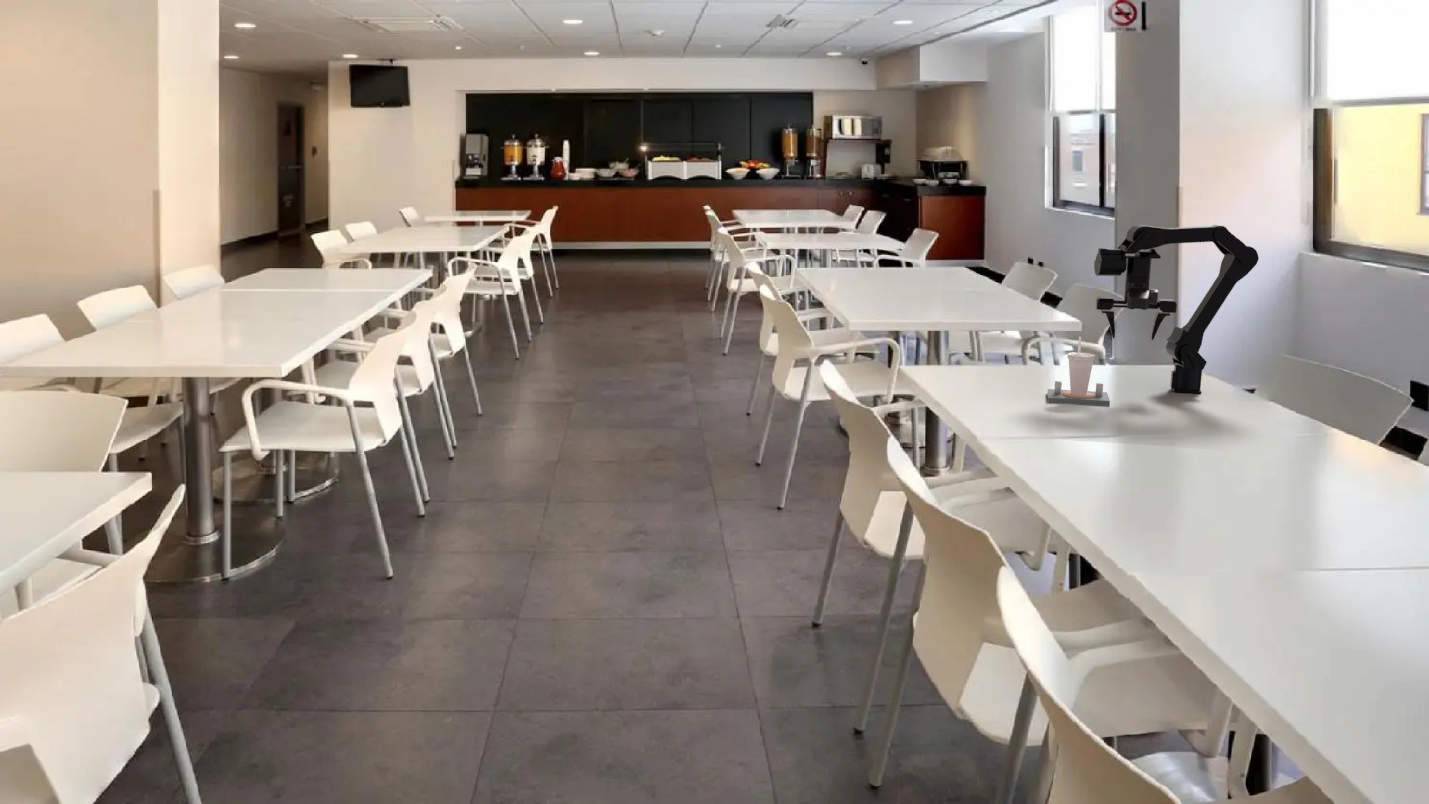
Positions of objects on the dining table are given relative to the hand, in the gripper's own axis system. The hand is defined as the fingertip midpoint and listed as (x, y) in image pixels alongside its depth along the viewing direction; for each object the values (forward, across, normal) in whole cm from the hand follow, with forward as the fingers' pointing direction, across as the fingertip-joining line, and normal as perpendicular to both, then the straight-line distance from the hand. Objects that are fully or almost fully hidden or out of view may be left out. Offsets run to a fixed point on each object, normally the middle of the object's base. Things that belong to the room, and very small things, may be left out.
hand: (1132, 338), depth 305 cm
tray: (+13, -13, -17) cm, 25 cm away
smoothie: (+12, -13, -17) cm, 24 cm away
